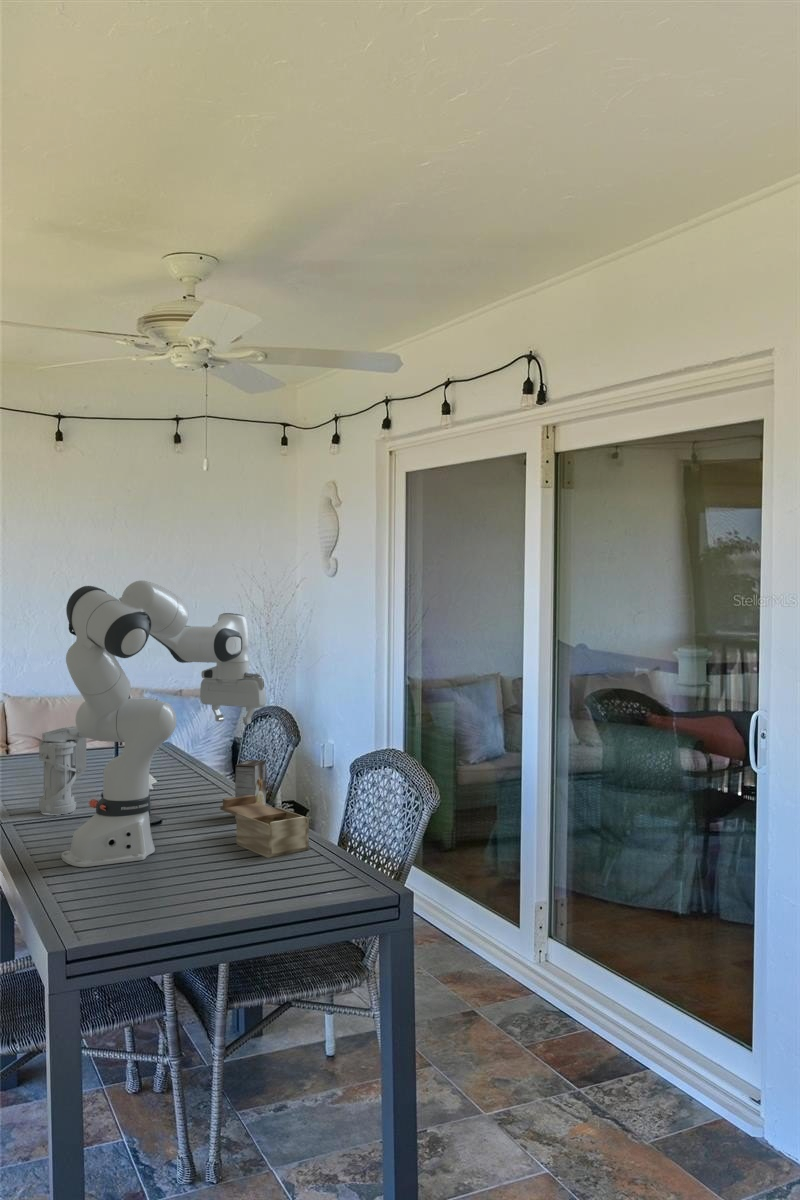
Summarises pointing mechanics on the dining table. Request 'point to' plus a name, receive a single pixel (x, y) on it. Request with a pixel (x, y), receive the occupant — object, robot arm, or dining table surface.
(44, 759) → the lantern
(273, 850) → the crate
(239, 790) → the coffee box
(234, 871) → the dining table surface
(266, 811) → the lid
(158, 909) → the dining table surface
